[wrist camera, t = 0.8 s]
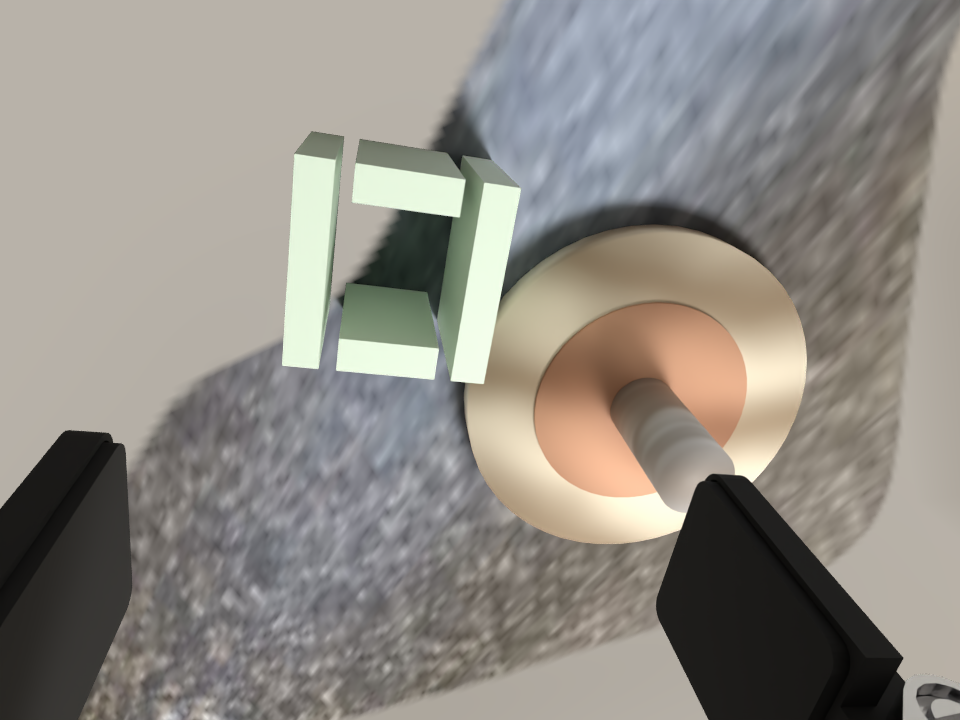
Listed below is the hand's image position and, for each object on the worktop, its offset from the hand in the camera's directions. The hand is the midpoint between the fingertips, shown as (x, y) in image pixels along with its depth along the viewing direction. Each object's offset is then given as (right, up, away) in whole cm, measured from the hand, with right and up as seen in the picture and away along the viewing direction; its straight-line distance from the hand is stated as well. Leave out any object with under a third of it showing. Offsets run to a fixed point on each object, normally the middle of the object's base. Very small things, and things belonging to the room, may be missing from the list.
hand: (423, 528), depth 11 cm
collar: (-3, +8, +16) cm, 18 cm away
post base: (+8, +1, +21) cm, 23 cm away
